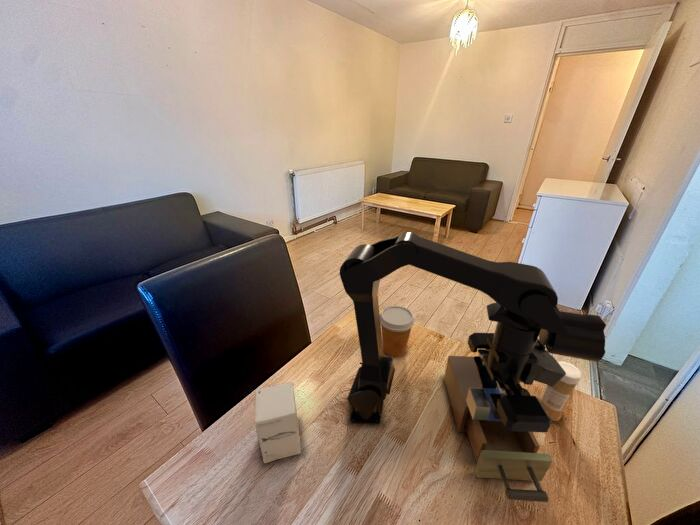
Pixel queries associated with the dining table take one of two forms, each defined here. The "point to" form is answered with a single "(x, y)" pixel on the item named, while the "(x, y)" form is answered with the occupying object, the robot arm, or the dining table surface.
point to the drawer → (508, 457)
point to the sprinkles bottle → (560, 391)
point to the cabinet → (461, 385)
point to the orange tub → (396, 329)
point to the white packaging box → (277, 422)
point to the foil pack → (481, 403)
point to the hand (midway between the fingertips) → (492, 407)
